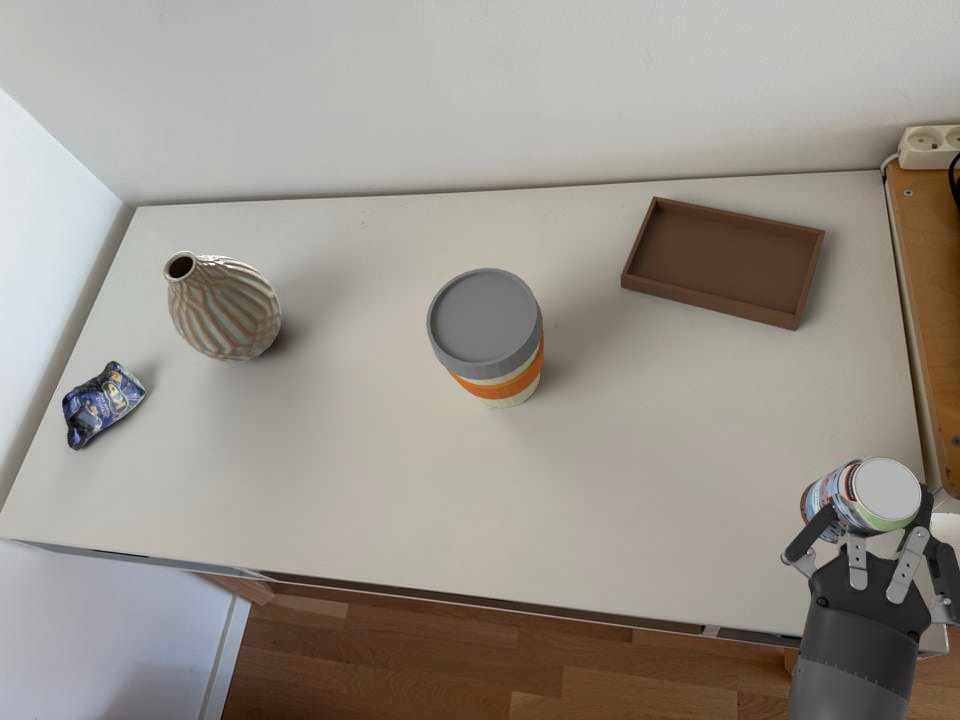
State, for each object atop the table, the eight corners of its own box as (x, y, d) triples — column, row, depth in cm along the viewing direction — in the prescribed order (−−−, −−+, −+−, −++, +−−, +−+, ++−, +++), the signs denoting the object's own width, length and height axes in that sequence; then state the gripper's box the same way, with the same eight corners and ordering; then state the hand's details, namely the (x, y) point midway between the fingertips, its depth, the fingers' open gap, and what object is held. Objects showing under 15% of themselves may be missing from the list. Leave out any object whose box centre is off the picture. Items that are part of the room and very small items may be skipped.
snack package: (133, 451, 88) (155, 372, 93) (92, 437, 83) (118, 354, 88) (71, 456, 93) (95, 380, 97) (28, 443, 87) (56, 364, 92)
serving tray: (820, 243, 81) (826, 230, 79) (794, 331, 77) (799, 320, 74) (652, 208, 88) (653, 195, 86) (620, 287, 84) (620, 276, 82)
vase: (284, 281, 96) (218, 205, 81) (307, 350, 90) (240, 281, 74) (204, 320, 96) (122, 251, 81) (221, 392, 90) (137, 331, 74)
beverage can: (806, 473, 64) (835, 429, 53) (891, 502, 61) (938, 462, 50) (788, 533, 62) (814, 499, 51) (874, 566, 59) (920, 537, 48)
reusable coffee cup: (551, 423, 78) (534, 370, 65) (450, 420, 81) (414, 367, 68) (558, 331, 83) (544, 264, 70) (463, 331, 86) (432, 266, 73)
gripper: (981, 732, 43) (1013, 495, 49) (760, 640, 48) (814, 435, 54) (936, 727, 50) (969, 518, 56) (745, 646, 55) (794, 462, 61)
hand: (892, 478), depth 55 cm, fingers closed on beverage can, 3 cm apart
